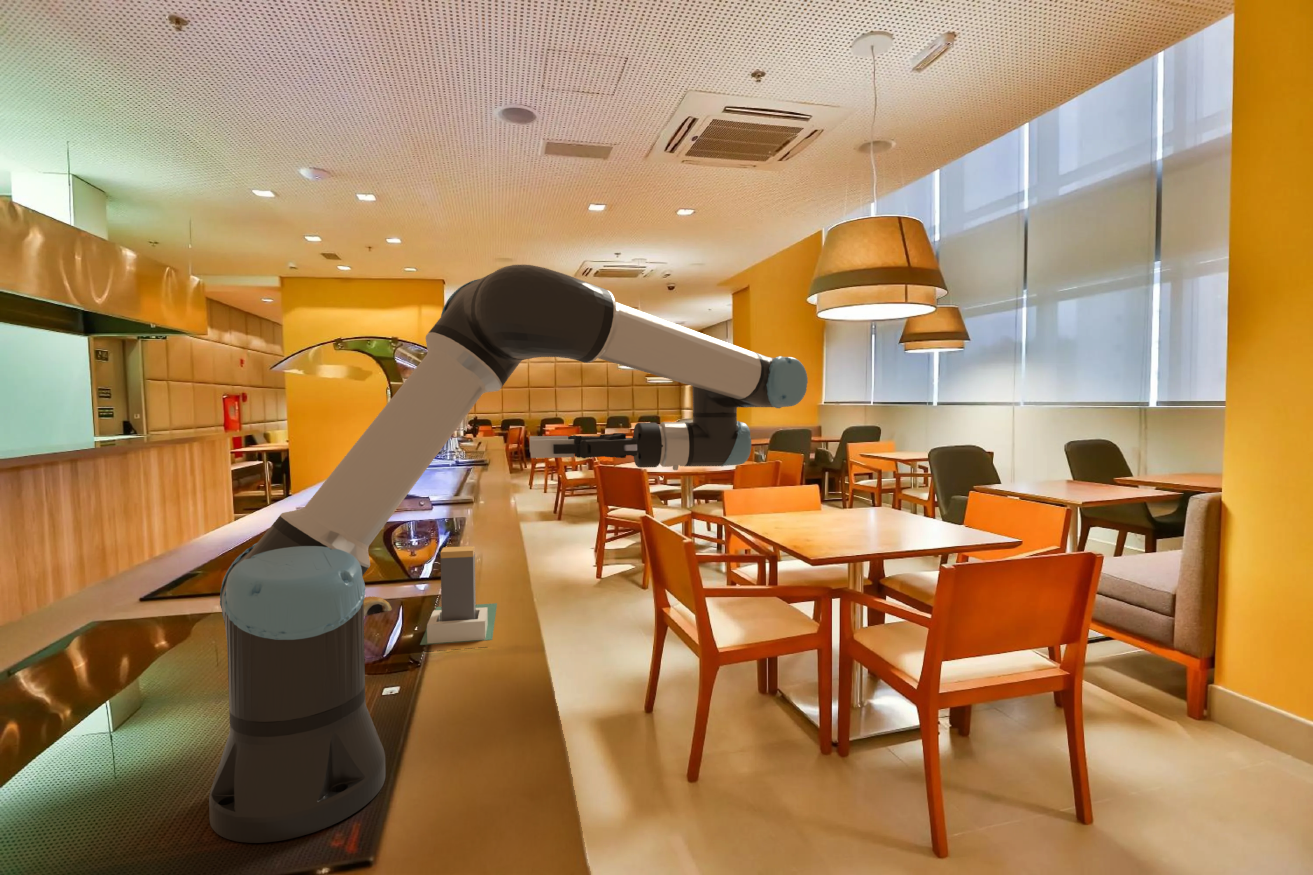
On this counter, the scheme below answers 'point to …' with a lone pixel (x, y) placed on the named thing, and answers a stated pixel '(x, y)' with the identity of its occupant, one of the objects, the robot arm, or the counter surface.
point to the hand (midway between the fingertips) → (529, 446)
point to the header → (457, 628)
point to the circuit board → (490, 626)
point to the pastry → (375, 605)
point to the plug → (458, 583)
